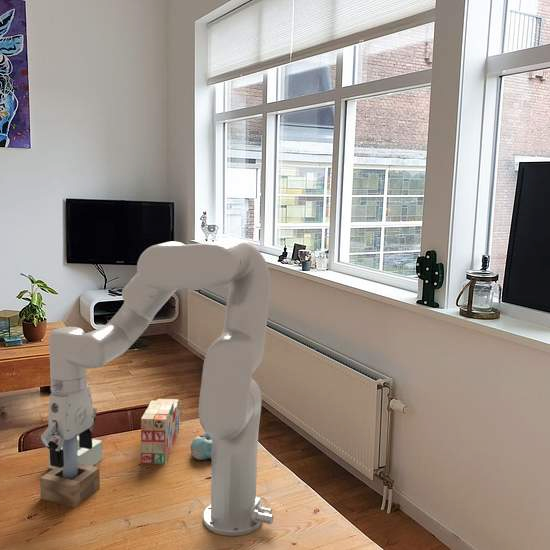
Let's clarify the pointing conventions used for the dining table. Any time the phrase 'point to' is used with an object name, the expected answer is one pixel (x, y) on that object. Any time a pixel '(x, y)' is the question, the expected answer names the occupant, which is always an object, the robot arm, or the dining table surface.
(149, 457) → the stack of blocks
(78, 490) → the brown wooden square ring
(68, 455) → the light blue rod
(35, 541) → the dining table surface
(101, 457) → the white square hollow block
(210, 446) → the teal cartoon creature figurine
